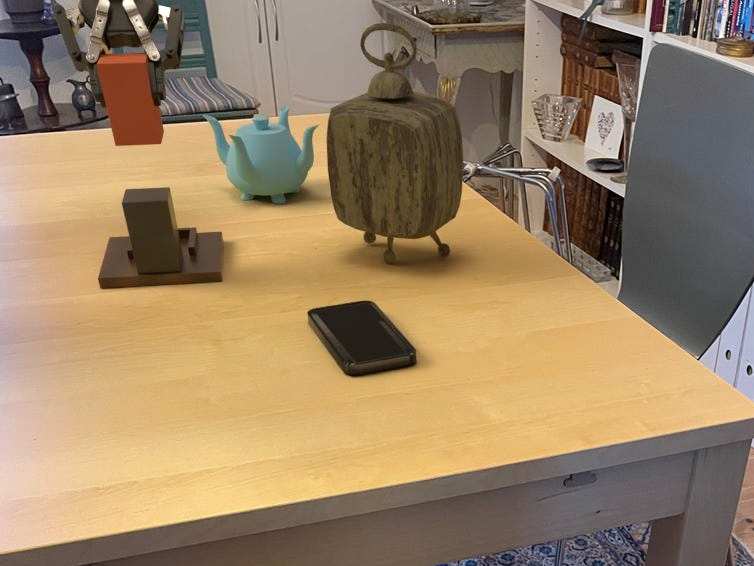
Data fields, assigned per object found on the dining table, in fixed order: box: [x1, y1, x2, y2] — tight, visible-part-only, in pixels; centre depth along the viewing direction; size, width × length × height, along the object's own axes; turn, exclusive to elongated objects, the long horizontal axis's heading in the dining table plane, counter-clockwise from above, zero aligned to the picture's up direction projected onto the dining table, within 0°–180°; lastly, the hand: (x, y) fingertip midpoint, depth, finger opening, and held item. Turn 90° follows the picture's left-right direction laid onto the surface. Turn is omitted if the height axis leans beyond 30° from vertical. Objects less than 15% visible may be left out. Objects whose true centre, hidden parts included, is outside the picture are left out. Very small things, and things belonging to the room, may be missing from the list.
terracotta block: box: [97, 52, 165, 147], centre depth 104 cm, size 5×5×8 cm
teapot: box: [202, 105, 320, 204], centre depth 133 cm, size 13×13×10 cm
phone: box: [306, 299, 418, 376], centre depth 99 cm, size 8×1×15 cm
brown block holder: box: [97, 186, 224, 289], centre depth 113 cm, size 14×14×9 cm
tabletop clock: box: [326, 22, 465, 265], centre depth 110 cm, size 14×9×25 cm, turn 66°
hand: (130, 101), depth 103 cm, fingers closed on terracotta block, 5 cm apart
